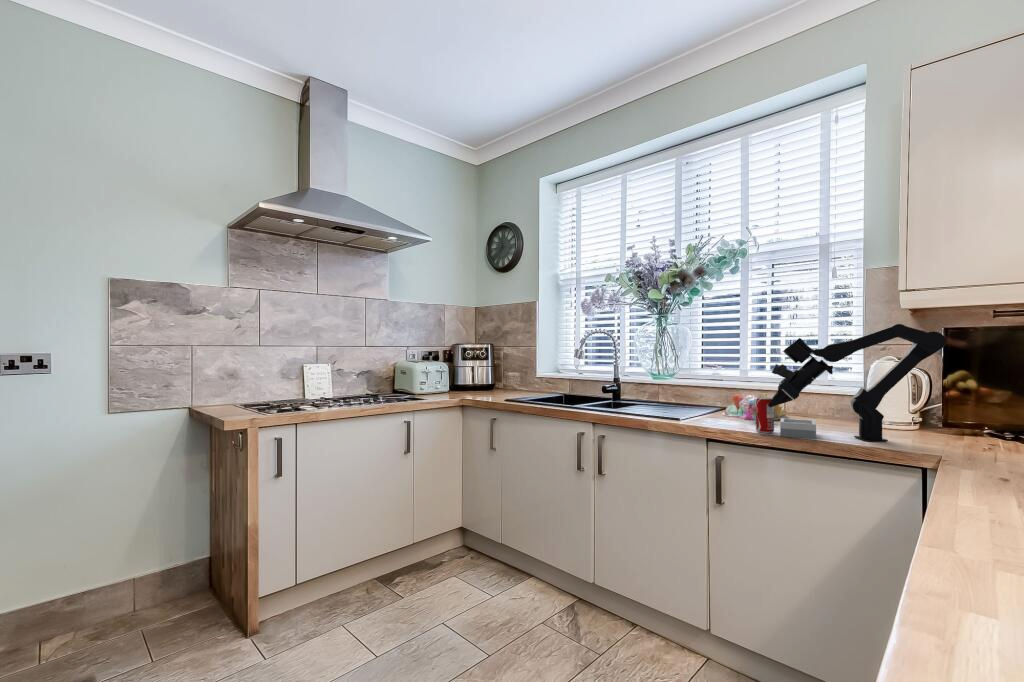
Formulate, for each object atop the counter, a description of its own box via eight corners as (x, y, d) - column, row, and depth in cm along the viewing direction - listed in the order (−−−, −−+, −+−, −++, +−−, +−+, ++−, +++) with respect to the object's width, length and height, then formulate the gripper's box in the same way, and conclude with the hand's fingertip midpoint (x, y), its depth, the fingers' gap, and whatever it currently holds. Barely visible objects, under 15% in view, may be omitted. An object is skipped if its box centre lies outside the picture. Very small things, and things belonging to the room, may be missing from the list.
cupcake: (780, 423, 187) (780, 392, 187) (763, 425, 184) (763, 392, 184) (761, 420, 195) (761, 390, 195) (744, 422, 192) (744, 390, 192)
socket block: (814, 433, 166) (814, 420, 166) (816, 438, 157) (816, 424, 158) (781, 431, 171) (780, 418, 171) (780, 435, 162) (780, 422, 162)
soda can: (755, 430, 174) (754, 395, 174) (772, 431, 172) (772, 396, 172) (756, 432, 168) (756, 397, 169) (774, 433, 166) (774, 397, 167)
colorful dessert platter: (789, 415, 210) (789, 394, 211) (787, 423, 190) (786, 399, 190) (726, 411, 224) (726, 391, 224) (717, 418, 204) (717, 396, 204)
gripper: (787, 355, 175) (753, 385, 180) (787, 356, 159) (749, 389, 164) (813, 378, 171) (777, 408, 176) (816, 382, 155) (775, 415, 160)
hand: (769, 404), depth 169 cm, fingers open, 9 cm apart
